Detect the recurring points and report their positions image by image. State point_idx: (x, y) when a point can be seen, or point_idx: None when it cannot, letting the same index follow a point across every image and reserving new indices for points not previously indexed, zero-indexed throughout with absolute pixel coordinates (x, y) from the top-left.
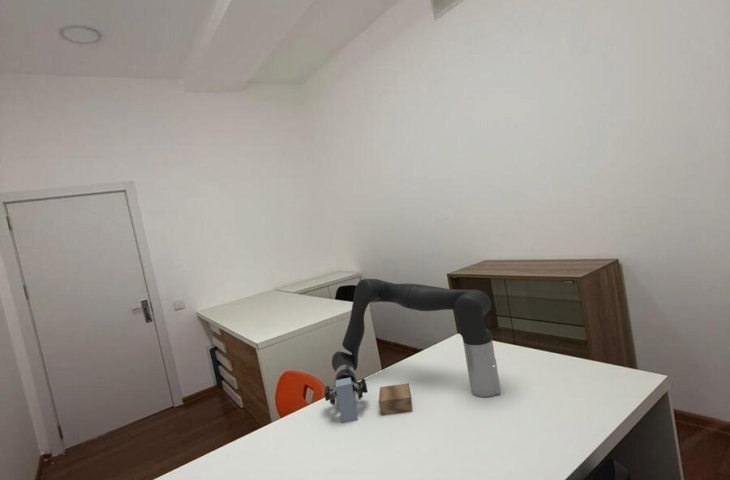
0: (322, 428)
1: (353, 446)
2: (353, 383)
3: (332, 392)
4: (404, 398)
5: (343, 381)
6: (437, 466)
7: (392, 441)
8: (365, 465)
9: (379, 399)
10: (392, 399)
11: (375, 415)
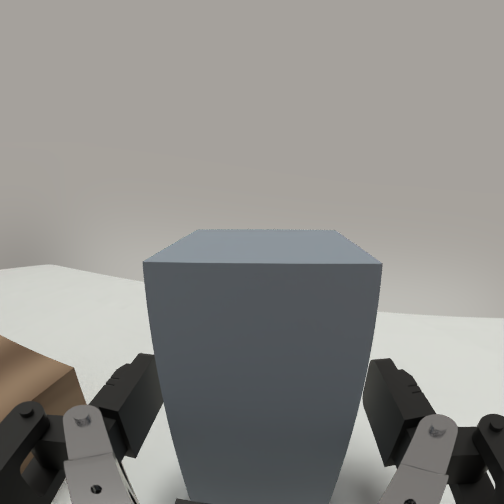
0: None
1: None
2: (93, 497)
3: (427, 431)
4: (2, 338)
5: (260, 243)
6: (129, 285)
7: None
8: None
9: (58, 377)
10: (28, 349)
11: None
